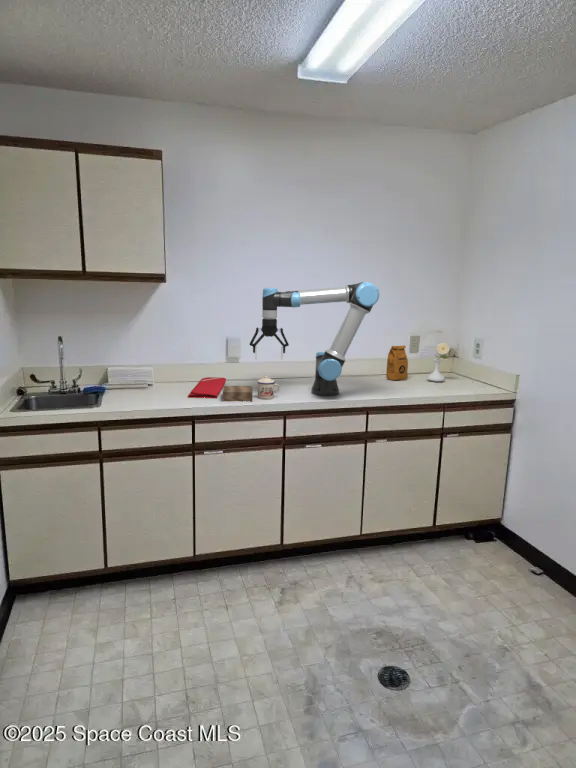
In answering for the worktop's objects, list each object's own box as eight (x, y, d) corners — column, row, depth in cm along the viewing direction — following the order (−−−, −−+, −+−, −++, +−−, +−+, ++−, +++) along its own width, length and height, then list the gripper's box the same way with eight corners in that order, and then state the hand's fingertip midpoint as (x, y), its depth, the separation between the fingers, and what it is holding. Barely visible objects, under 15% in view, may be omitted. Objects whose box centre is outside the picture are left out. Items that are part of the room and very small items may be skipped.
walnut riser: (252, 395, 275) (252, 385, 274) (252, 401, 260) (252, 392, 259) (224, 394, 274) (224, 385, 273) (222, 401, 259) (222, 391, 258)
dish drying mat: (187, 398, 265) (186, 391, 265) (200, 382, 305) (200, 376, 305) (217, 399, 265) (217, 392, 265) (226, 383, 306) (226, 377, 305)
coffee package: (409, 380, 325) (411, 346, 321) (393, 381, 320) (395, 346, 316) (399, 377, 334) (402, 344, 330) (383, 378, 329) (386, 344, 325)
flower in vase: (423, 381, 325) (426, 342, 320) (430, 378, 334) (433, 340, 329) (443, 384, 317) (447, 344, 312) (450, 381, 326) (453, 342, 321)
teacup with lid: (258, 400, 264) (259, 377, 262) (255, 396, 273) (255, 374, 271) (281, 399, 267) (282, 377, 265) (277, 395, 276) (277, 374, 274)
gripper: (293, 318, 266) (292, 358, 271) (245, 317, 264) (245, 357, 269) (294, 319, 259) (293, 360, 263) (245, 318, 257) (244, 360, 261)
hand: (268, 359), depth 266 cm, fingers open, 13 cm apart
